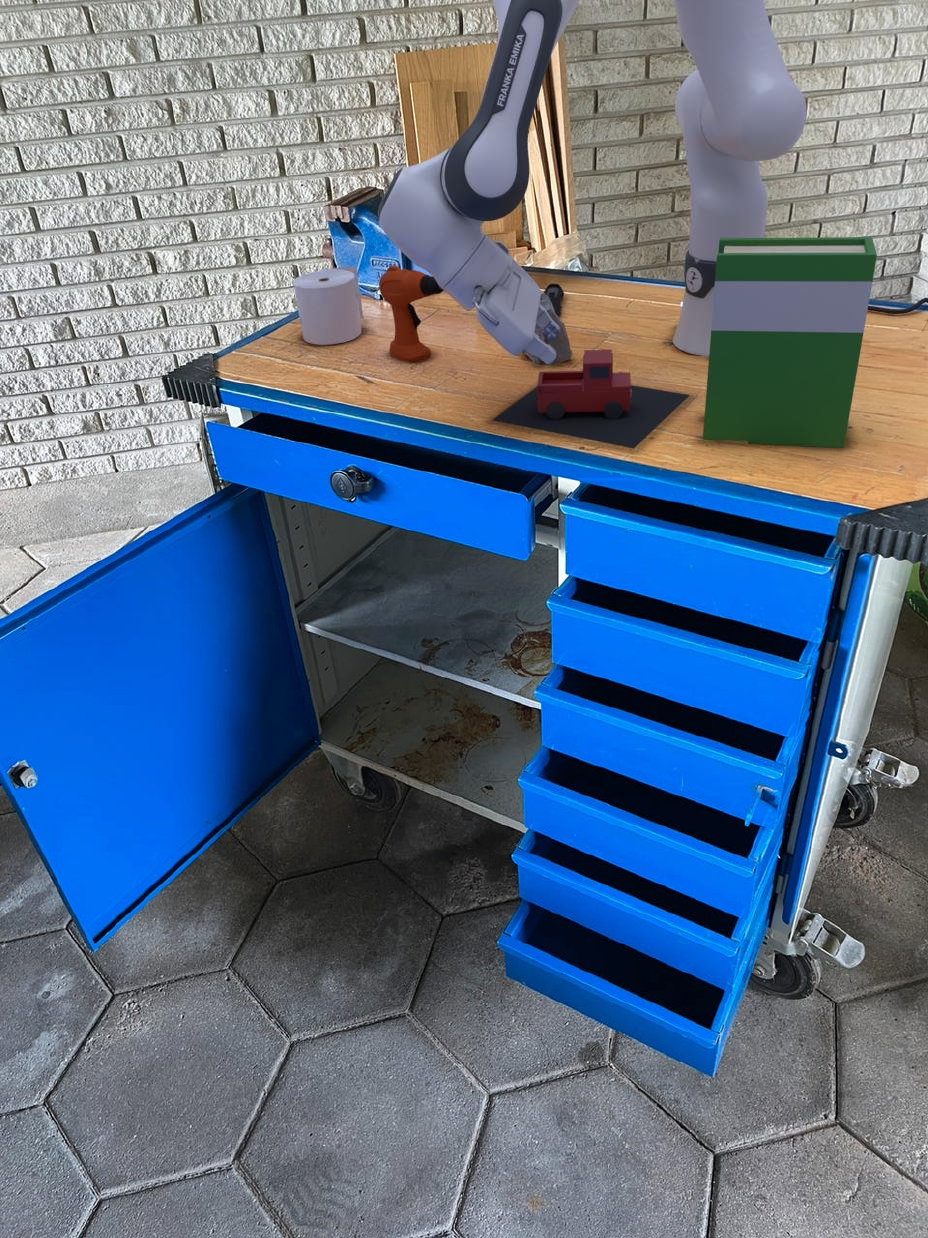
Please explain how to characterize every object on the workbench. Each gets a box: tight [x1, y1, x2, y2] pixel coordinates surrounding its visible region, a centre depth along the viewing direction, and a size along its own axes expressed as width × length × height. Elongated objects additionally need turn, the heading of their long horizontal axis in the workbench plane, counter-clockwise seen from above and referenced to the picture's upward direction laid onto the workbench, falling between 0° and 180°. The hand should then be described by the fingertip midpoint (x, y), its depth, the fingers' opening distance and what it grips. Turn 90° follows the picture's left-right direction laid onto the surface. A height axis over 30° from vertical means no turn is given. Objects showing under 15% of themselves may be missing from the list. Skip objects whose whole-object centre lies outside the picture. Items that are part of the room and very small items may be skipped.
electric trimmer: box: [543, 283, 565, 317], centre depth 173 cm, size 4×16×3 cm, turn 172°
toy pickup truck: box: [536, 349, 632, 420], centre depth 135 cm, size 13×6×8 cm, turn 83°
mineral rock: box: [521, 292, 573, 366], centre depth 155 cm, size 13×11×10 cm
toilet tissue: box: [292, 265, 364, 346], centre depth 170 cm, size 11×12×10 cm
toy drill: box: [378, 265, 444, 363], centre depth 154 cm, size 5×19×15 cm, turn 48°
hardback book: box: [702, 236, 878, 449], centre depth 121 cm, size 18×7×24 cm, turn 75°
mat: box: [492, 384, 690, 450], centre depth 138 cm, size 19×22×1 cm
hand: (554, 346), depth 132 cm, fingers open, 8 cm apart
